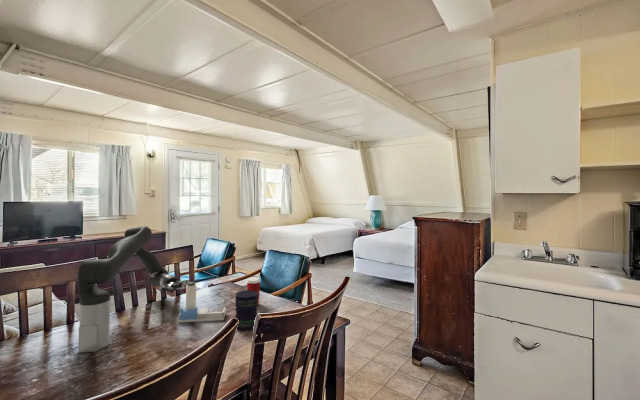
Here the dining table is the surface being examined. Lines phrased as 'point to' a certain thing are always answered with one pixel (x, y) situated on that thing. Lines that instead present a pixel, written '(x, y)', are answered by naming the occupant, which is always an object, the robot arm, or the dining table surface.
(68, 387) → the dining table surface
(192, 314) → the grey blue holder base
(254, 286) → the paper cup
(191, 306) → the off-white tall block
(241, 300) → the storage jar
